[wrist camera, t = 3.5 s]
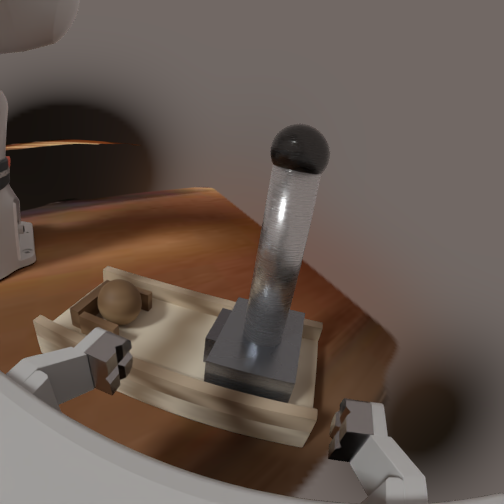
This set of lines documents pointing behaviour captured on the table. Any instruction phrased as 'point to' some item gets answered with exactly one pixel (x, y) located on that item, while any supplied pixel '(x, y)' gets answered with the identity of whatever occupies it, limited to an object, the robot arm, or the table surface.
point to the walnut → (119, 302)
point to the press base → (188, 360)
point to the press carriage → (272, 278)
